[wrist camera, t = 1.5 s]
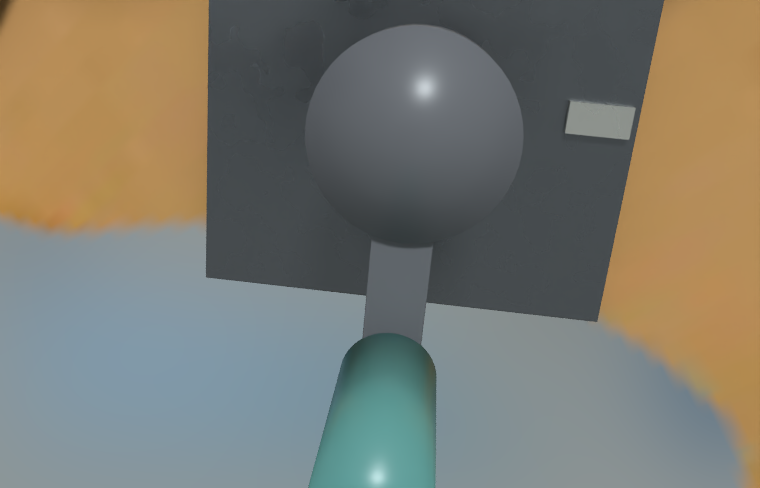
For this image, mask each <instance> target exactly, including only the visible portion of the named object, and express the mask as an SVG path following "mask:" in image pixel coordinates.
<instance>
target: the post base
mask: <svg viewBox="0 0 760 488" xmlns="http://www.w3.org/2000/svg"><path fill="white" fill-rule="evenodd" d="M663 3H664V0H209V47H208V142H207V237H206V239H207V241H206V277H208V278H217V279H226V280H235V281H244V282H252V283H261V284H270V285H279V286H287V287H297V288H306V289H314V290H323V291H331V292H340V293H349V294H358V295H367V284H368V273H369V262H370V251H371V240H372V235H371V234H368V233H366V232H364V231H362V230H360V229H359V228H357V227H356V226H354V225H352V224H351V223H350V222H348V221H347V220H346V219H344V218H343V217H342V216H341V215H340V214H339V213H338V212H337V211H336V210H335V209H334V208H333V207H332V206H331V205H330V204H329V202H328V201H327V200H326V198H325V197H324V196H323V194H322V192H321V191H320V189H319V187H318V185H317V184H316V182H315V179H314V177H313V174H312V172H311V169H310V166H309V162H308V158H307V153H306V146H305V125H306V117H307V112H308V108H309V104H310V100H311V98H312V96H313V93H314V91H315V88H316V86H317V85H318V83H319V81H320V79H321V77H322V76H323V74H324V73H325V72H326V70H327V69H328V68H329V66H330V65H331V64H332V63H333V62H334V61H335V60H336V59H337V58H338V57H339V56H340V55H341V54H342V53H343V52H344V51H346V50H347V49H348V48H349V47H351V46H352V45H353V44H355V43H357V42H359V41H360V40H362V39H364V38H366V37H368V36H370V35H372V34H374V33H376V32H379V31H381V30H384V29H386V28H390V27H394V26H398V25H405V24H429V25H435V26H440V27H444V28H447V29H450V30H453V31H455V32H457V33H459V34H462V35H464V36H466V37H467V38H469V39H470V40H472V41H473V42H475V43H476V44H477V45H479V46H480V47H481V48H482V49H483V50H484V51H485V52H487V54H488V55H489V56H490V57H491V58H492V59H493V60H494V61H495V62H496V63H497V65H498V66H499V67H500V68H501V69H502V71H503V72H504V74H505V75H506V77H507V78H508V80H509V81H510V83H511V85H512V88H513V90H514V92H515V94H516V96H517V100H518V103H519V106H520V109H521V115H522V120H523V135H524V138H523V149H522V155H521V160H520V164H519V167H518V170H517V173H516V175H515V178H514V180H513V182H512V184H511V186H510V188H509V190H508V192H507V193H506V194H505V196H504V197H503V199H502V200H501V202H500V203H499V204H498V205H497V206H496V207H495V208H494V209H493V211H492V212H491V213H490V214H489V215H487V216H486V217H485V218H484V219H483V220H481V221H480V222H479V223H477V224H476V225H474V226H473V227H471V228H470V229H468V230H466V231H464V232H462V233H460V234H458V235H456V236H453V237H450V238H447V239H444V240H440V241H435V242H433V250H432V258H431V266H430V274H429V283H428V291H427V299H426V302H428V303H437V304H445V305H454V306H462V307H471V308H480V309H489V310H498V311H507V312H515V313H524V314H533V315H542V316H551V317H559V318H568V319H576V320H585V321H594V322H597V320H598V315H599V310H600V305H601V300H602V296H603V291H604V286H605V281H606V276H607V272H608V267H609V262H610V257H611V252H612V248H613V243H614V238H615V233H616V228H617V224H618V219H619V214H620V209H621V204H622V200H623V195H624V190H625V185H626V180H627V176H628V171H629V166H630V161H631V156H632V152H633V147H634V142H635V137H636V132H637V128H638V123H639V118H640V113H641V108H642V104H643V99H644V94H645V89H646V84H647V80H648V75H649V70H650V65H651V60H652V56H653V51H654V46H655V41H656V36H657V32H658V27H659V22H660V17H661V12H662V8H663Z"/></svg>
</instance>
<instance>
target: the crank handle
mask: <svg viewBox="0 0 760 488" xmlns="http://www.w3.org/2000/svg"><path fill="white" fill-rule="evenodd" d="M523 138H524V135H523V120H522V115H521V109H520V106H519V103H518V100H517V96H516V94H515V92H514V90H513V88H512V85H511V83H510V81H509V80H508V78H507V77H506V75H505V74H504V72H503V71H502V69H501V68H500V67H499V66H498V65H497V63H496V62H495V61H494V60H493V59H492V58H491V57H490V56H489V55H488V54H487V52H485V51H484V50H483V49H482V48H481V47H480V46H479V45H477V44H476V43H475V42H473V41H472V40H470V39H469V38H467V37H466V36H464V35H462V34H459V33H457V32H455V31H453V30H450V29H447V28H444V27H440V26H435V25H429V24H405V25H398V26H394V27H390V28H386V29H384V30H381V31H379V32H376V33H374V34H372V35H370V36H368V37H366V38H364V39H362V40H360V41H359V42H357V43H355V44H353V45H352V46H351V47H349V48H348V49H347V50H346V51H344V52H343V53H342V54H341V55H340V56H339V57H338V58H337V59H336V60H335V61H334V62H333V63H332V64H331V65H330V66H329V68H328V69H327V70H326V72H325V73H324V74H323V76H322V77H321V79H320V81H319V83H318V85H317V86H316V88H315V91H314V93H313V96H312V98H311V100H310V104H309V108H308V112H307V117H306V125H305V146H306V153H307V158H308V162H309V166H310V169H311V172H312V174H313V177H314V179H315V182H316V184H317V185H318V187H319V189H320V191H321V192H322V194H323V196H324V197H325V198H326V200H327V201H328V202H329V204H330V205H331V206H332V207H333V208H334V209H335V210H336V211H337V212H338V213H339V214H340V215H341V216H342V217H343V218H344V219H346V220H347V221H348V222H350V223H351V224H352V225H354V226H356V227H357V228H359V229H360V230H362V231H364V232H366V233H368V234H371V235H372V240H371V251H370V262H369V273H368V284H367V295H366V306H365V318H364V328H363V339H361V340H360V341H358V342H357V343H355V344H354V345H353V346H352V347H351V348H350V349H349V350H348V352H347V353H346V355H345V357H344V359H343V361H342V365H341V368H340V372H339V376H338V379H337V383H336V387H335V391H334V394H333V398H332V402H331V405H330V409H329V413H328V416H327V420H326V424H325V428H324V431H323V435H322V439H321V442H320V446H319V450H318V454H317V457H316V461H315V465H314V468H313V472H312V476H311V479H310V483H309V487H308V488H435V469H436V466H435V465H436V370H435V366H434V363H433V361H432V359H431V357H430V355H429V354H428V353H427V351H426V350H425V349H424V348H423V347H422V346H421V341H422V332H423V324H424V316H425V308H426V299H427V291H428V283H429V274H430V266H431V258H432V250H433V242H435V241H440V240H444V239H447V238H450V237H453V236H456V235H458V234H460V233H462V232H464V231H466V230H468V229H470V228H471V227H473V226H474V225H476V224H477V223H479V222H480V221H481V220H483V219H484V218H485V217H486V216H487V215H489V214H490V213H491V212H492V211H493V209H494V208H495V207H496V206H497V205H498V204H499V203H500V202H501V200H502V199H503V197H504V196H505V194H506V193H507V192H508V190H509V188H510V186H511V184H512V182H513V180H514V178H515V175H516V173H517V170H518V167H519V164H520V160H521V155H522V149H523Z"/></svg>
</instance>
